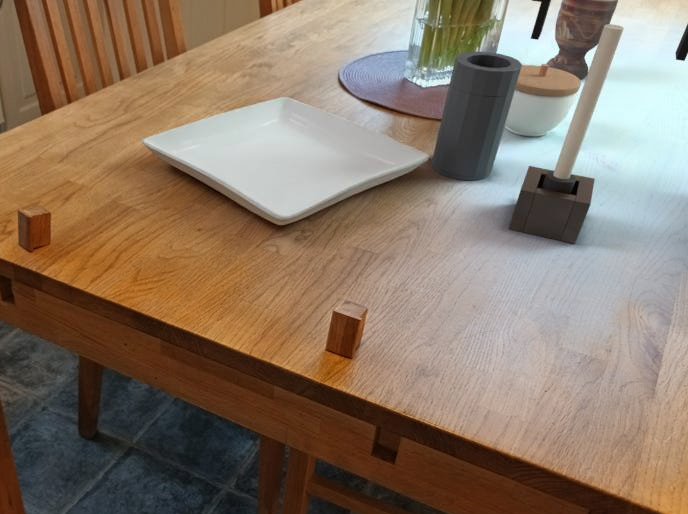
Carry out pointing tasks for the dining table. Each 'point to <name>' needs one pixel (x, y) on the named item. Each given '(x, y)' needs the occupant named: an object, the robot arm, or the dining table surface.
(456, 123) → the dark grey cylindrical container
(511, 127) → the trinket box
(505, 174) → the dining table surface
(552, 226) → the holder
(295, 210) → the square plate
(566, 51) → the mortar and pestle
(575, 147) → the brush
